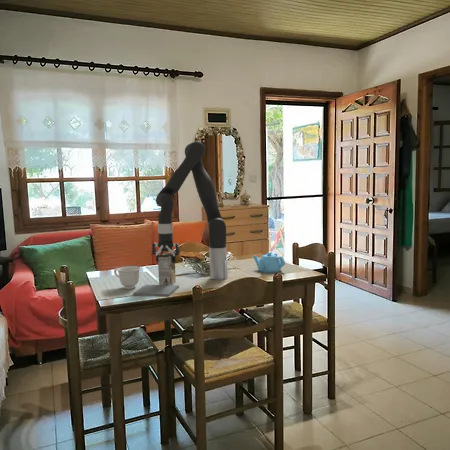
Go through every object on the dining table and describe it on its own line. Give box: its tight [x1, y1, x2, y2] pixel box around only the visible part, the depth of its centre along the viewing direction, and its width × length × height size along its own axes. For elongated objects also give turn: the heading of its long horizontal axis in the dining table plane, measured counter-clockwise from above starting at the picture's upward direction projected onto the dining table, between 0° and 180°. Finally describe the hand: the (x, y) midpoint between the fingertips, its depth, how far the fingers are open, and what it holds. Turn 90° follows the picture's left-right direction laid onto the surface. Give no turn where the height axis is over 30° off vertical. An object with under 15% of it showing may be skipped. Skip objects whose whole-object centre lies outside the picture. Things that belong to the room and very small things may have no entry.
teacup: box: [113, 265, 142, 290], centre depth 220 cm, size 12×15×10 cm
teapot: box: [253, 251, 286, 274], centre depth 251 cm, size 15×15×11 cm
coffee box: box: [157, 252, 177, 285], centre depth 224 cm, size 9×6×16 cm
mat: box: [132, 284, 180, 297], centre depth 212 cm, size 18×16×1 cm
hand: (166, 262), depth 224 cm, fingers open, 8 cm apart
